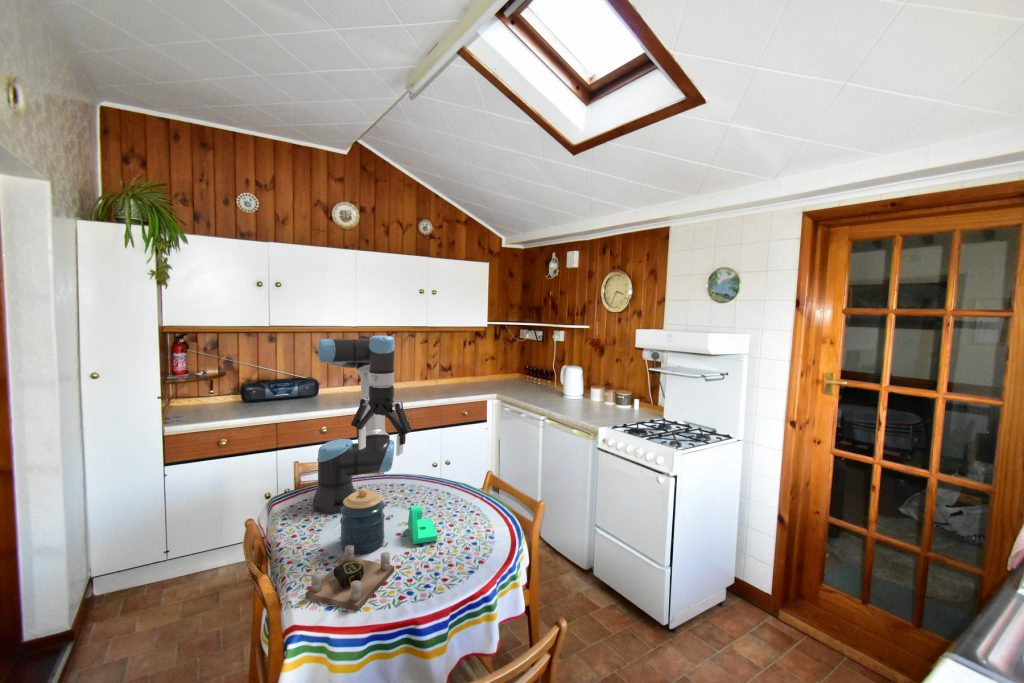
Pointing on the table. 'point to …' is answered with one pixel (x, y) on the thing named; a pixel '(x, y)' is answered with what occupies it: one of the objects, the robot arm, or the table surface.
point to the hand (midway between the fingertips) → (380, 451)
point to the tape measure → (349, 573)
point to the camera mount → (420, 526)
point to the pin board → (345, 593)
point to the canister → (362, 521)
